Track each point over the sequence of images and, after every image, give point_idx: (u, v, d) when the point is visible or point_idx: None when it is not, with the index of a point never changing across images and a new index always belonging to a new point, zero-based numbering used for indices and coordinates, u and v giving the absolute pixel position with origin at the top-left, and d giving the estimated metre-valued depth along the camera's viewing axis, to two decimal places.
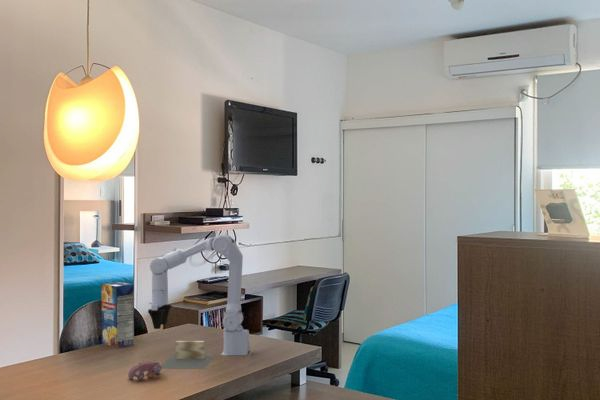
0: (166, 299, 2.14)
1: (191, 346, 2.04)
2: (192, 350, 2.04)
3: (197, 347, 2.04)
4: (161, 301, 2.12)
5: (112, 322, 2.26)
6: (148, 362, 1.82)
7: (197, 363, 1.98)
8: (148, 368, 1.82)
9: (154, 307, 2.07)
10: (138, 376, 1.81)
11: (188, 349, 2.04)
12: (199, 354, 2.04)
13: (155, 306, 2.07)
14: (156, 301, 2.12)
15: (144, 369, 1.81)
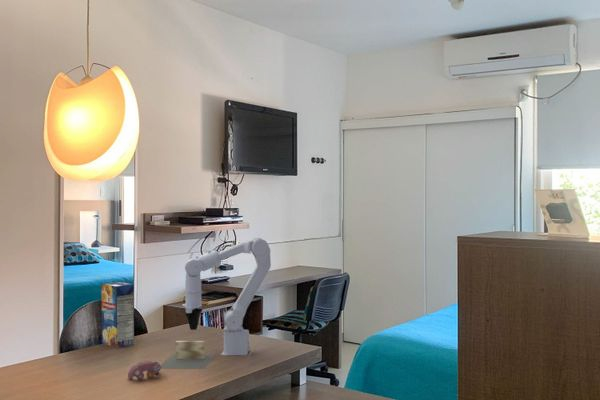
0: (200, 301, 2.10)
1: (191, 346, 2.04)
2: (192, 350, 2.04)
3: (197, 347, 2.04)
4: (195, 303, 2.08)
5: (112, 322, 2.26)
6: (148, 362, 1.82)
7: (197, 363, 1.98)
8: (148, 368, 1.82)
9: (188, 310, 2.03)
10: (138, 376, 1.81)
11: (188, 349, 2.04)
12: (199, 354, 2.04)
13: (189, 309, 2.03)
14: (190, 303, 2.08)
15: (144, 369, 1.82)
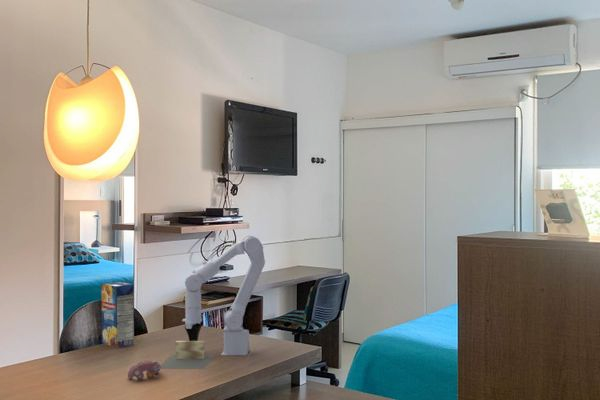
0: (200, 317, 2.09)
1: (191, 346, 2.04)
2: (192, 350, 2.04)
3: (197, 347, 2.04)
4: (195, 319, 2.08)
5: (112, 322, 2.26)
6: (147, 362, 1.82)
7: (197, 363, 1.98)
8: (147, 368, 1.82)
9: (188, 325, 2.03)
10: (137, 376, 1.81)
11: (188, 349, 2.04)
12: (199, 354, 2.04)
13: (189, 324, 2.03)
14: (190, 319, 2.08)
15: (143, 369, 1.82)
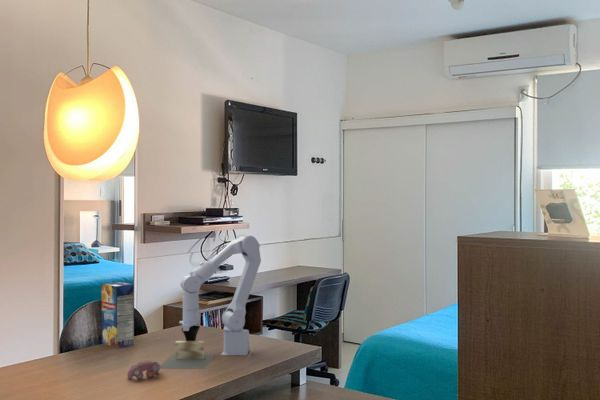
0: (197, 319, 2.06)
1: (191, 346, 2.04)
2: (192, 350, 2.04)
3: (197, 347, 2.03)
4: (192, 321, 2.04)
5: (112, 322, 2.26)
6: (147, 362, 1.82)
7: (197, 363, 1.98)
8: (147, 368, 1.83)
9: (186, 327, 1.99)
10: (137, 376, 1.82)
11: (188, 349, 2.04)
12: (199, 354, 2.04)
13: (187, 326, 1.99)
14: (187, 321, 2.04)
15: (143, 369, 1.82)
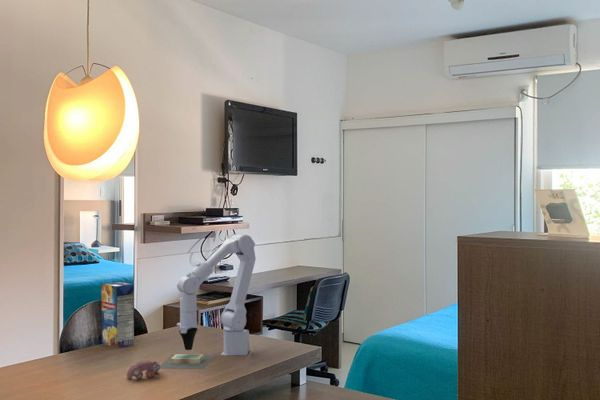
0: (195, 321, 2.02)
1: None
2: None
3: None
4: (190, 323, 2.00)
5: (112, 322, 2.26)
6: (147, 361, 1.83)
7: None
8: (147, 367, 1.83)
9: (183, 330, 1.96)
10: (137, 375, 1.82)
11: None
12: None
13: (184, 329, 1.96)
14: (185, 323, 2.00)
15: (143, 368, 1.82)
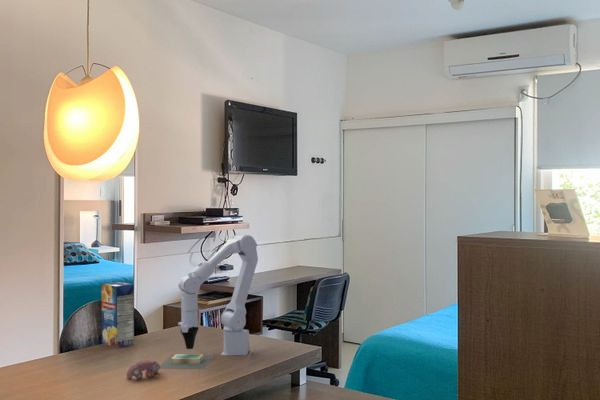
0: (196, 320, 2.04)
1: None
2: None
3: None
4: (191, 322, 2.02)
5: (112, 322, 2.26)
6: (147, 361, 1.83)
7: None
8: (147, 367, 1.83)
9: (185, 329, 1.97)
10: (137, 375, 1.82)
11: None
12: None
13: (186, 328, 1.97)
14: (186, 322, 2.02)
15: (143, 368, 1.82)
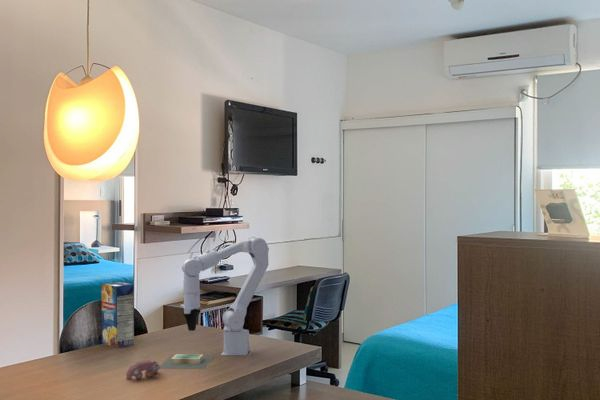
0: (198, 302, 2.07)
1: None
2: None
3: None
4: (193, 304, 2.06)
5: (112, 322, 2.26)
6: (146, 361, 1.83)
7: None
8: (146, 367, 1.83)
9: (187, 310, 2.01)
10: (136, 375, 1.82)
11: None
12: None
13: (188, 309, 2.01)
14: (188, 304, 2.05)
15: (142, 368, 1.82)
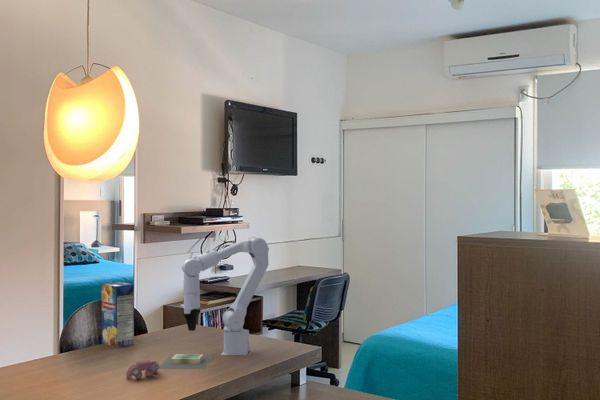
0: (198, 302, 2.07)
1: None
2: None
3: None
4: (193, 304, 2.06)
5: (112, 322, 2.26)
6: (146, 361, 1.83)
7: None
8: (146, 367, 1.83)
9: (187, 310, 2.01)
10: (136, 375, 1.82)
11: None
12: None
13: (188, 309, 2.01)
14: (188, 304, 2.05)
15: (142, 368, 1.83)
